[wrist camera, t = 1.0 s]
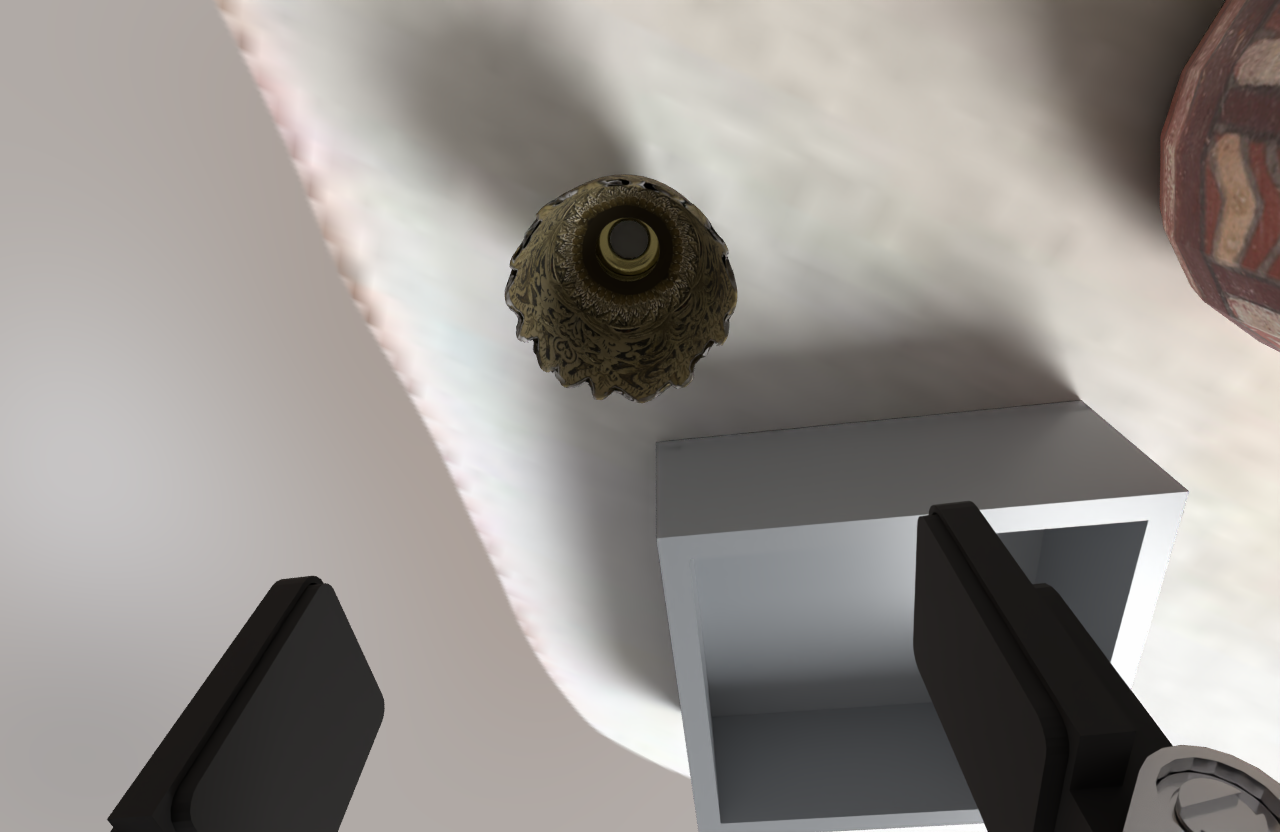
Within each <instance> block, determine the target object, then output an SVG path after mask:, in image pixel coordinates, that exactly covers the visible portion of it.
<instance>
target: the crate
mask: <svg viewBox="0 0 1280 832" xmlns="http://www.w3.org/2000/svg"><path fill="white" fill-rule="evenodd" d="M1188 494H1189V491H1188V490H1187V489H1186V488H1185V487H1183V486H1182V485H1181V484H1180V483H1179V482H1177V481H1176V480H1175V479H1174V478H1173V477H1172V476H1170V475H1169V474H1168V473H1167V472H1166V471H1164V470H1163V469H1162V468H1161V467H1160V466H1159V465H1157V464H1156V463H1155V462H1154V461H1153V460H1151V459H1150V458H1149V457H1148V456H1147V455H1146V454H1144V453H1143V452H1142V451H1141V450H1140V449H1138V448H1137V447H1136V446H1135V445H1134V444H1133V443H1131V442H1130V441H1129V440H1128V439H1127V438H1125V437H1124V436H1123V435H1122V434H1121V433H1119V432H1118V431H1117V430H1116V429H1115V428H1114V427H1112V426H1111V425H1110V424H1109V423H1108V422H1106V421H1105V420H1104V419H1103V418H1102V417H1101V416H1099V415H1098V414H1097V413H1096V412H1095V411H1093V410H1092V409H1091V408H1090V407H1089V406H1088V405H1086V404H1085V403H1084V402H1083V401H1082V400H1080V401H1070V402H1060V403H1049V404H1039V405H1029V406H1019V407H1009V408H999V409H988V410H978V411H968V412H958V413H948V414H938V415H928V416H917V417H907V418H897V419H887V420H877V421H867V422H857V423H846V424H836V425H826V426H816V427H806V428H796V429H786V430H775V431H765V432H755V433H745V434H735V435H725V436H715V437H704V438H694V439H684V440H674V441H664V442H656V539H657V546H658V553H659V560H660V567H661V574H662V581H663V588H664V595H665V602H666V609H667V616H668V623H669V630H670V637H671V644H672V651H673V658H674V664H675V671H676V678H677V685H678V692H679V699H680V706H681V713H682V720H683V727H684V734H685V741H686V748H687V755H688V762H689V769H690V776H691V782H692V789H693V797H694V803H695V810H696V817H697V824H698V831H699V832H832V831H850V830H868V829H887V828H905V827H923V826H942V825H960V824H978V823H984V822H983V819H982V817H981V815H980V812H979V810H978V808H977V805H976V803H975V801H974V798H973V796H972V794H971V791H970V789H969V787H968V784H967V782H966V780H965V777H964V775H963V773H962V770H961V768H960V766H959V763H958V761H957V759H956V756H955V754H954V752H953V749H952V747H951V745H950V742H949V740H948V738H947V735H946V733H945V731H944V728H943V726H942V724H941V721H940V719H939V717H938V714H937V712H936V710H935V707H934V705H933V703H932V700H931V698H930V696H929V693H928V691H927V689H926V686H925V684H924V682H923V679H922V677H921V675H920V672H919V670H918V667H917V664H916V661H915V656H914V650H913V628H914V600H915V572H916V543H917V522H918V518H919V517H920V516H925V515H929V509H930V507H931V506H932V505H936V504H945V503H953V502H962V501H972V502H973V503H974V504H975V505H976V506H977V507H978V509H979V510H980V511H981V513H982V514H983V516H984V517H985V518H986V520H987V521H988V523H989V524H990V525H991V527H992V528H993V530H994V531H995V532H996V534H997V535H998V537H999V538H1000V540H1001V541H1002V542H1003V544H1004V545H1005V547H1006V548H1007V549H1008V551H1009V552H1010V554H1011V555H1012V556H1013V558H1014V559H1015V561H1016V562H1017V563H1018V565H1019V566H1020V568H1021V569H1022V570H1023V572H1024V573H1025V575H1026V576H1027V578H1028V579H1029V580H1030V582H1031V583H1032V584H1040V583H1046V584H1048V585H1050V586H1052V587H1053V588H1054V589H1055V590H1056V591H1057V592H1058V593H1059V594H1060V596H1061V597H1062V598H1063V600H1064V601H1065V602H1066V604H1067V605H1068V606H1069V608H1070V609H1071V610H1072V612H1073V613H1074V614H1075V616H1076V617H1077V618H1078V620H1079V621H1080V622H1081V624H1082V625H1083V626H1084V628H1085V629H1086V631H1087V632H1088V633H1089V635H1090V636H1091V637H1092V639H1093V640H1094V641H1095V643H1096V644H1097V645H1098V647H1099V648H1100V649H1101V651H1102V652H1103V653H1104V655H1105V656H1106V657H1107V659H1108V660H1109V661H1110V663H1111V664H1112V665H1113V667H1114V668H1115V669H1116V671H1117V672H1118V673H1119V675H1120V676H1121V677H1122V679H1123V680H1124V681H1125V683H1126V684H1127V685H1128V687H1129V688H1130V689H1132V685H1133V682H1134V678H1135V675H1136V671H1137V668H1138V665H1139V661H1140V658H1141V654H1142V651H1143V648H1144V644H1145V641H1146V637H1147V634H1148V630H1149V627H1150V624H1151V620H1152V617H1153V613H1154V610H1155V607H1156V603H1157V600H1158V596H1159V593H1160V589H1161V586H1162V583H1163V579H1164V576H1165V572H1166V569H1167V566H1168V562H1169V559H1170V555H1171V552H1172V549H1173V545H1174V542H1175V538H1176V535H1177V531H1178V528H1179V525H1180V521H1181V518H1182V514H1183V511H1184V508H1185V504H1186V501H1187V497H1188Z"/></svg>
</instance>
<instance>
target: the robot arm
mask: <svg viewBox="0 0 1280 832" xmlns="http://www.w3.org/2000/svg"><path fill="white" fill-rule="evenodd" d="M913 650H914V656H915V661H916V664H917V667H918V670H919V672H920V675H921V677H922V679H923V682H924V684H925V686H926V689H927V691H928V693H929V696H930V698H931V700H932V703H933V705H934V707H935V710H936V712H937V714H938V717H939V719H940V721H941V724H942V726H943V728H944V731H945V733H946V735H947V738H948V740H949V742H950V745H951V747H952V749H953V752H954V754H955V756H956V759H957V761H958V763H959V766H960V768H961V770H962V773H963V775H964V777H965V780H966V782H967V784H968V787H969V789H970V791H971V794H972V796H973V798H974V801H975V803H976V805H977V808H978V810H979V812H980V815H981V817H982V819H983V822H984V824H985V826H986V829H987V831H988V832H1280V784H1279V783H1278V782H1277V781H1275V780H1274V779H1273V778H1271V777H1270V776H1268V775H1267V774H1266V773H1264V772H1263V771H1261V770H1260V769H1259V768H1257V767H1255V766H1253V765H1251V764H1249V763H1247V762H1245V761H1243V760H1241V759H1239V758H1237V757H1235V756H1233V755H1230V754H1227V753H1223V752H1220V751H1217V750H1213V749H1210V748H1207V747H1198V746H1188V745H1178V746H1172V744H1171V743H1170V742H1169V740H1168V739H1167V738H1166V736H1165V735H1164V734H1163V732H1162V731H1161V730H1160V728H1159V727H1158V726H1157V724H1156V723H1155V722H1154V720H1153V719H1152V717H1151V716H1150V715H1149V713H1148V712H1147V711H1146V709H1145V708H1144V707H1143V705H1142V704H1141V703H1140V701H1139V700H1138V699H1137V697H1136V696H1135V695H1134V693H1133V692H1132V691H1131V689H1130V688H1129V687H1128V685H1127V684H1126V683H1125V681H1124V680H1123V679H1122V677H1121V676H1120V675H1119V673H1118V672H1117V671H1116V669H1115V668H1114V667H1113V665H1112V664H1111V663H1110V661H1109V660H1108V659H1107V657H1106V656H1105V655H1104V653H1103V652H1102V651H1101V649H1100V648H1099V647H1098V645H1097V644H1096V643H1095V641H1094V640H1093V639H1092V637H1091V636H1090V635H1089V633H1088V632H1087V631H1086V629H1085V628H1084V626H1083V625H1082V624H1081V622H1080V621H1079V620H1078V618H1077V617H1076V616H1075V614H1074V613H1073V612H1072V610H1071V609H1070V608H1069V606H1068V605H1067V604H1066V602H1065V601H1064V600H1063V598H1062V597H1061V596H1060V594H1059V593H1058V592H1057V591H1056V590H1055V589H1054V588H1053V587H1052V586H1050V585H1048V584H1046V583H1040V584H1032V583H1031V582H1030V580H1029V579H1028V578H1027V576H1026V575H1025V573H1024V572H1023V570H1022V569H1021V568H1020V566H1019V565H1018V563H1017V562H1016V561H1015V559H1014V558H1013V556H1012V555H1011V554H1010V552H1009V551H1008V549H1007V548H1006V547H1005V545H1004V544H1003V542H1002V541H1001V540H1000V538H999V537H998V535H997V534H996V532H995V531H994V530H993V528H992V527H991V525H990V524H989V523H988V521H987V520H986V518H985V517H984V516H983V514H982V513H981V511H980V510H979V509H978V507H977V506H976V505H975V504H974V503H973V502H972V501H962V502H953V503H945V504H936V505H932V506H931V507H930V509H929V515H925V516H920V517H919V518H918V522H917V543H916V572H915V600H914V628H913ZM383 716H384V699H383V696H382V693H381V691H380V689H379V687H378V684H377V682H376V680H375V678H374V676H373V674H372V671H371V669H370V667H369V665H368V663H367V661H366V659H365V656H364V655H363V652H362V650H361V648H360V646H359V643H358V642H357V639H356V637H355V635H354V632H353V630H352V628H351V626H350V624H349V622H348V619H347V617H346V615H345V613H344V611H343V609H342V607H341V605H340V602H339V600H338V598H337V596H336V594H335V591H334V589H333V588H332V586H331V585H329V584H326V583H325V584H324V583H323V582H322V580H321V579H319V578H318V577H317V576H307V577H298V578H289V579H281V580H279V581H277V582H276V583H275V584H274V585H273V586H272V587H271V589H270V590H269V591H268V593H267V594H266V596H265V597H264V599H263V600H262V601H261V603H260V604H259V606H258V607H257V608H256V610H255V611H254V613H253V614H252V615H251V617H250V618H249V620H248V621H247V623H246V624H245V625H244V627H243V628H242V629H241V631H240V632H239V634H238V635H237V637H236V638H235V640H234V641H233V642H232V644H231V645H230V646H229V648H228V649H227V651H226V652H225V653H224V655H223V656H222V658H221V659H220V661H219V662H218V663H217V665H216V666H215V668H214V669H213V671H212V672H211V673H210V675H209V676H208V677H207V679H206V680H205V682H204V683H203V685H202V686H201V687H200V689H199V690H198V692H197V693H196V694H195V696H194V698H193V699H192V700H191V702H190V703H189V704H188V706H187V707H186V709H185V710H184V711H183V713H182V714H181V716H180V717H179V718H178V720H177V721H176V723H175V724H174V725H173V727H172V728H171V730H170V731H169V733H168V734H167V735H166V737H165V738H164V740H163V741H162V742H161V744H160V745H159V747H158V748H157V749H156V751H155V752H154V754H153V755H152V757H151V758H150V759H149V761H148V762H147V764H146V765H145V766H144V768H143V769H142V771H141V772H140V774H139V775H138V776H137V778H136V779H135V781H134V782H133V783H132V785H131V786H130V788H129V789H128V790H127V792H126V793H125V795H124V796H123V797H122V799H121V800H120V802H119V803H118V805H117V806H116V807H115V809H114V810H113V812H112V813H111V814H110V816H109V817H108V819H107V820H108V821H109V822H110V824H111V825H112V826H113V829H112V830H111V832H338V830H339V827H340V825H341V822H342V819H343V817H344V815H345V812H346V810H347V807H348V805H349V802H350V800H351V797H352V795H353V792H354V790H355V787H356V785H357V782H358V780H359V777H360V775H361V772H362V770H363V767H364V765H365V762H366V760H367V757H368V755H369V752H370V750H371V747H372V745H373V743H374V740H375V737H376V735H377V732H378V730H379V728H380V725H381V722H382V719H383Z"/></svg>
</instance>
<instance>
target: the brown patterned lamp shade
mask: <svg viewBox="0 0 1280 832" xmlns="http://www.w3.org/2000/svg"><path fill="white" fill-rule="evenodd" d="M535 217H537V218H536V220H535V221H534V222H533V224H532V226H531V227H530V228H529V229H528V230H527V232H526V233H525V236H524V240H523V242H522V243H521V245H520V246H519V247H518V248H517V250H516V252H515V253H514V254H513V256H512V258H511V261H510V268H511V269H512V271H511V274H510V277H509V280H508V282H507V285H506V288H505V301H506V304H507V306H508V307H509V309H510V310H511V311H513V312H515V314H516V315H517V317H518V324H517V326H516V329H517V331H516V336H517V338H518V340H520V341H523V342H524V343H525V342H528V341H529V340H533V341H534V345H533V351H534V353H535V354H536V356H537V360H538V363H539V366H540V368H541V369H542V370H543V371H545V372H550V371H551V372H552V373H553V372H554V371H555V376H556V378H557V379H558V380H559V381H560V383H561V385H562V386H564V387H566V388H574V387H578V386H580V385H582V384H584V383H585V382H588V383H589V384H588V385H589V386H590V387H591V391H592V395H593V398H594V399H596V400H602V399H605V398H606V397H607V396H608V395H610V394H611V393H612V392H616V393H620V394H622V395H623V396H624V397H625V398H627V399H628V400H631V401H634V402H638V403H645V402H648V401H650V400H652V399H654V398H656V397H657V396H659V395H660V394H661V393H663V392H664V391H665V390H666V389H667V388H669V387H670V386H673V387H674V388H676V389H677V388H683V387H686V386H687V385H688V384H689V383H690V382H691V381H692V380H693V378H694V369H695V368H694V367H695V364H696V363H697V362H698V361H699V360H700V359H701V358H703V357H706V356H707V354H708V351H709V349H710V348H711V347H712V345H713V344H714V343H718V344H717V346H722V345H723V343H724V342H725V341H726V339H727V336H728V333H729V318H730V317H731V315H732V314H733V313H734V310H735V307H736V303H737V287H736V282H735V277H734V273H733V270H732V268H731V265H730V263H729V260H728V257H727V254H728V252H729V251H728V248H727V246H726V244H725V242H724V241H723V239H722V238H721V237H720V236H719V235H718V234H717V233H716V231H715V230H714V229H713V227H712V226H711V223H710V222H709V220H708V219H707V218H706V216H705V215H704V214H703V213H702V212H701V211H700V210H699V209H698V208H697V207H696V206H695V205H694V204H692V203H690V202H689V201H688V200H687V199H686V198H685V197H684V196H683V195H681V194H680V193H678V192H677V191H676V190H674V189H672V188H671V187H669V186H667V185H665V184H663V183H661V182H659V181H656V180H654V179H650V178H647V177H642V176H637V175H612V176H606V177H601V178H598V179H595V180H592V181H589V182H587V183H585V184H582V185H580V186H578V187H576V188H574V189H572V190H570V191H568V192H566V193H564V194H562V195H561V196H559V197H558V198H556V199H555V200H553V201H551V202H549V203H548V204H546V205H545V206H544V207H543V208H541V209H540V211H539V212H538V213H537V214H536V216H535ZM627 220H631V221H635V222H638V223H639V224H641V225H642V226H643V227H644V228H645V230H646V231H647V234H648V246H647V249H646V250H645V252H644V253H643V254H642V255H641V256H639V257H637V258H634V259H625V258H622V257H620V256H618V255H617V254H616V253H615V252H614V251H613V249H612V247H611V245H610V234H611V232H612V230H613V228H614V227H615V226H616V225H617V224H618V223H620V222H622V221H627Z"/></svg>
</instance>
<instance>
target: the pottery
mask: <svg viewBox="0 0 1280 832" xmlns="http://www.w3.org/2000/svg"><path fill="white" fill-rule="evenodd" d="M1160 210H1161V216H1162V221H1163V226H1164V230H1165V232H1166V234H1167V237H1168V239H1169V241H1170V243H1171V245H1172V247H1173V249H1174V252H1175V254H1176V256H1177V258H1178V260H1179V262H1180V264H1181V267H1182V269H1183V271H1184V273H1185V275H1186V277H1187V279H1188V282H1189V284H1190V285H1191V287H1192V288H1193V289H1194V290H1195V292H1196V293H1197V294H1198V295H1199V297H1200V298H1201V299H1202V300H1203V301H1204V302H1205V303H1207V304H1208V305H1209V306H1211V307H1212V308H1214V309H1215V310H1216V311H1218V312H1219V313H1220V314H1222V315H1223V316H1225V317H1226V318H1227V319H1229V320H1230V321H1232V322H1233V323H1234V324H1236V325H1237V326H1238V327H1240V328H1241V329H1243V330H1244V331H1245V332H1247V333H1248V334H1249V335H1251V336H1252V337H1254V338H1255V339H1256V340H1258V341H1259V342H1261V343H1263V344H1265V345H1267V346H1269V347H1271V348H1273V349H1275V350H1277V351H1279V352H1280V0H1226V1H1225V3H1224V4H1223V6H1222V8H1221V9H1220V11H1219V12H1218V14H1217V16H1216V17H1215V19H1214V20H1213V22H1212V24H1211V25H1210V27H1209V28H1208V30H1207V32H1206V33H1205V35H1204V36H1203V38H1202V40H1201V41H1200V43H1199V44H1198V46H1197V48H1196V49H1195V51H1194V52H1193V54H1192V56H1191V57H1190V59H1189V60H1188V62H1187V64H1186V65H1185V67H1184V68H1183V70H1182V72H1181V75H1180V78H1179V81H1178V84H1177V87H1176V90H1175V93H1174V96H1173V99H1172V102H1171V105H1170V108H1169V111H1168V114H1167V117H1166V120H1165V123H1164V126H1163V129H1162V132H1161V139H1160Z"/></svg>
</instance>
